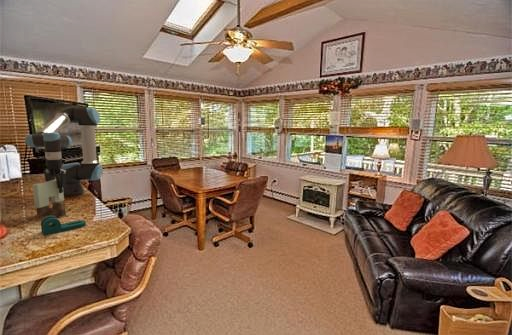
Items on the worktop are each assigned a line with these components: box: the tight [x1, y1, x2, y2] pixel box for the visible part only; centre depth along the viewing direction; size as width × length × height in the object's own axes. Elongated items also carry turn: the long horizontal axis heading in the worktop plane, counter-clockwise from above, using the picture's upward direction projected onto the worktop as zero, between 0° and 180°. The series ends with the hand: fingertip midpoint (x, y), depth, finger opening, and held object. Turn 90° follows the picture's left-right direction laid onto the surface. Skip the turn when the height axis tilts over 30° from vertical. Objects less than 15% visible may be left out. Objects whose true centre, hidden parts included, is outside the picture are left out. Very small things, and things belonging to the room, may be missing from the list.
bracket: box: [40, 215, 87, 237], centre depth 134 cm, size 18×7×8 cm, turn 137°
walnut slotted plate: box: [36, 201, 67, 218], centre depth 153 cm, size 16×2×8 cm, turn 83°
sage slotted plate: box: [32, 178, 65, 209], centre depth 151 cm, size 16×3×13 cm, turn 173°
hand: (57, 197), depth 157 cm, fingers closed on sage slotted plate, 3 cm apart
